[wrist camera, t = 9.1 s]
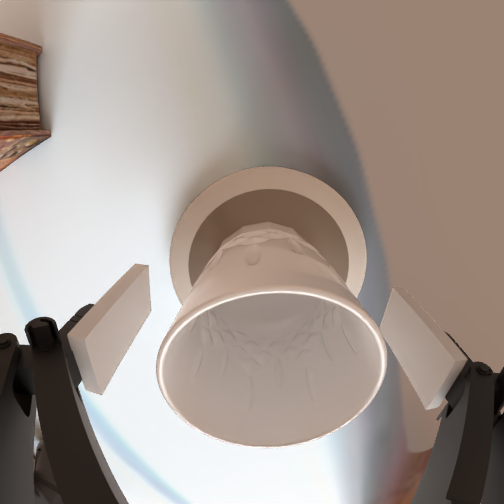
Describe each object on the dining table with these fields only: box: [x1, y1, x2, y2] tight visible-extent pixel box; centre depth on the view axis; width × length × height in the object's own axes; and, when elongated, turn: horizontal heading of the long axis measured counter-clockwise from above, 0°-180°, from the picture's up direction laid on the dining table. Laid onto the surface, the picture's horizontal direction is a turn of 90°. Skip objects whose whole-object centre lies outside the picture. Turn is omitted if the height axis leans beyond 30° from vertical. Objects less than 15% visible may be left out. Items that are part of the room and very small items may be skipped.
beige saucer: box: [170, 166, 367, 305], centre depth 19 cm, size 13×13×2 cm
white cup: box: [156, 222, 387, 448], centre depth 13 cm, size 8×8×10 cm
